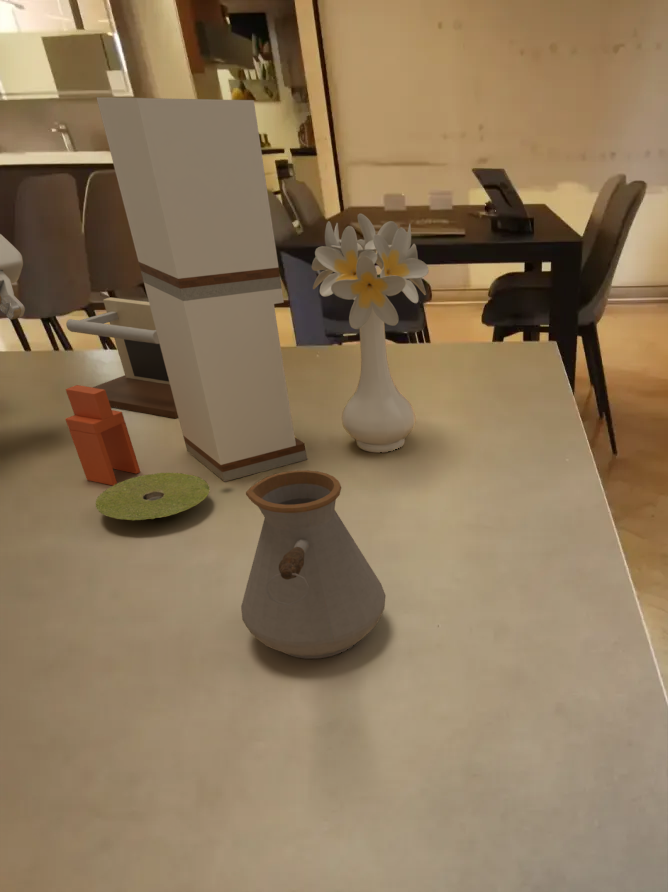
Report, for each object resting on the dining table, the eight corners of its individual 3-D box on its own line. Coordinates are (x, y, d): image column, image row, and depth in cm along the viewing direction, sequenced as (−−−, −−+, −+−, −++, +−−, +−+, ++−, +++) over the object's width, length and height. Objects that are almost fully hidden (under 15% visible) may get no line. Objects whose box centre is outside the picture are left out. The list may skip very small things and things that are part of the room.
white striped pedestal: (307, 459, 86) (253, 100, 65) (224, 481, 81) (136, 97, 59) (265, 432, 93) (205, 99, 72) (187, 451, 88) (96, 97, 66)
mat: (220, 485, 80) (216, 469, 79) (204, 532, 71) (200, 515, 70) (116, 490, 79) (111, 474, 77) (87, 539, 70) (81, 522, 69)
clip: (113, 486, 80) (84, 397, 73) (86, 480, 81) (55, 392, 75) (140, 472, 83) (114, 386, 77) (114, 466, 84) (86, 381, 78)
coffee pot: (252, 598, 62) (215, 434, 53) (382, 587, 64) (368, 425, 54) (230, 779, 45) (170, 585, 36) (406, 757, 47) (392, 566, 38)
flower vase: (347, 481, 82) (319, 235, 66) (323, 425, 95) (296, 211, 80) (453, 467, 85) (450, 231, 70) (416, 416, 99) (407, 209, 83)
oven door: (175, 418, 97) (151, 325, 89) (76, 400, 102) (45, 311, 94) (226, 394, 105) (208, 308, 97) (132, 379, 110) (107, 296, 102)
